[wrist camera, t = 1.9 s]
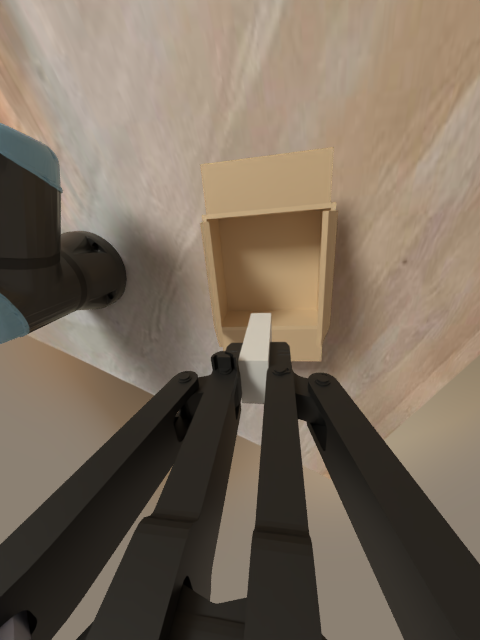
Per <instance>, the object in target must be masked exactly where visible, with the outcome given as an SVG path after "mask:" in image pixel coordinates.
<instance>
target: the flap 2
mask: <svg viewBox="0 0 480 640" xmlns="http://www.w3.org/2000/svg"><path fill="white" fill-rule="evenodd" d="M337 219H338V211H323V216H322V237H321V258H320V279H319V300H318V321H317V341H316V346H319V347H321V346H322V343H323V341H324V339H325V336H326V334H327V331H328V329H329V327H330V319H331V304H332V290H333V276H334V262H335V248H336V233H337Z"/></svg>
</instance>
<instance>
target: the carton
mask: <svg viewBox="0 0 480 640" xmlns="http://www.w3.org/2000/svg"><path fill="white" fill-rule="evenodd" d="M333 151H334V147H330V148H323V149H315V150H307V151H300V152H292V153H284V154H277V155H269V156H262V157H254V158H246V159H239V160H231V161H223V162H216V163H208V164H201V165H200V166H201V174H202V182H203V190H204V198H205V206H206V214H207V215H202V221H203V222H209V227H210V235H211V244H212V252H213V260H214V268H215V276H216V285H217V293H218V301H219V309H220V317H221V326H222V334H223V342H224V346H223V351H225V350H226V348H227V346H228V345H229V344H231V343H243V341H244V338H245V334H246V330H247V327H248V323H249V319H250V316H251V313H271V323H272V342H286V343H287V344H288V345H289V346H290V355H291V361H321V356H322V346H321V347H319V346H316V341H317V321H318V300H319V279H320V258H321V237H322V216H323V211H336V202H334V203H331V186H332V169H333Z"/></svg>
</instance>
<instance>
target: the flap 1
mask: <svg viewBox="0 0 480 640" xmlns="http://www.w3.org/2000/svg"><path fill="white" fill-rule="evenodd" d="M200 225H201V232H202V240H203V247H204V255H205V262H206V269H207V277H208V284H209V292H210V299H211V306H212V314H213V321H214V328H215V332H216V335H217V339H218V343H219V346H220V347H223V346H224V342H223V334H222V326H221V317H220V309H219V301H218V293H217V285H216V276H215V268H214V260H213V252H212V244H211V235H210V227H209V222H202V223H200Z"/></svg>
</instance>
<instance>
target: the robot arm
mask: <svg viewBox="0 0 480 640" xmlns="http://www.w3.org/2000/svg"><path fill="white" fill-rule="evenodd" d="M61 193H63V190H62V188H61V187H60V168H59V161H58V158H57V157H56V155H55V153H54V152H53V151H52V150H51V149H50V148H49V147H48V146H46V145H45V144H43V143H41V142H39V141H37V140H35V139H33V138H31V137H29V136H27V135H25V134H23V133H21V132H19V131H17V130H15V129H13V128H10V127H8V126H6V125H4V124H2V123H0V344H2V343H5V342H7V341H9V340H12V339H15V338H17V337H23V336H25V335H27V334H29V333H31V332H33V331H35V330H37V329H39V328H41V327H43V326H45V325H47V324H49V323H51V322H53V321H55V320H57V319H60V318H62V317H64V316H66V315H68V314H70V313H72V312H74V311H76V310H89V309H100V308H104V307H106V306H108V305H110V304H112V303H114V302H116V301H117V300H118V299H119V298H120V297H121V296H122V294H123V292H124V290H125V286H126V273H125V268H124V265H123V262H122V260H121V258H120V256H119V255H118V253H117V252H116V250H115V249H114V248H113V247H112V246H111V245H110V244H109V243H108V242H107V241H106V240H104V239H103V238H101V237H100V236H98V235H96V234H93V233H90V232H86V231H73V232H66V233H63V234H61ZM211 362H212V368H213V371H212V374H211V375H208V376H204V377H199V378H198V376H197V374H196V373H195V372H192V371H185V372H181V373H179V374H177V375H176V376H174V377H173V378H172V379H171V380H170V381H169V382H168V383H167V384H166V385H165V386H164V387H163V388H162V389H161V390H160V391H159V392H158V393H157V394H156V395H155V396H154V397H153V398H152V399H151V400H150V401H148V402H147V403H146V405H144V406H143V407H142V408H141V409H140V410H139V411H138V412H137V413H136V414H135V415H134V416H133V417H132V418H131V419H130V420H129V421H128V422H127V423H126V424H125V425H124V426H123V427H122V428H121V429H119V431H118V432H116V433H115V434H114V435H113V436H112V437H111V438H110V439H109V440H108V441H107V442H106V443H105V444H104V445H103V446H102V447H101V448H100V449H99V450H98V451H97V452H96V453H95V454H94V455H93V456H92V457H91V458H89V460H87V461H86V462H85V463H84V464H83V465H82V466H81V467H80V468H79V469H78V470H77V471H76V472H75V473H74V474H73V475H72V476H71V477H70V478H69V479H68V480H67V481H66V482H65V483H64V484H63V485H62V486H61V487H59V489H57V490H56V491H55V492H54V493H53V494H52V495H51V496H50V497H49V498H48V499H47V500H46V501H45V502H44V503H43V504H42V505H41V506H40V507H39V508H38V509H37V510H36V511H35V512H34V513H33V514H32V515H31V516H30V517H28V518H27V519H26V521H24V522H23V523H22V524H21V525H20V526H19V527H18V528H17V529H16V530H15V531H14V532H13V533H12V534H11V535H10V536H9V537H8V538H7V539H6V540H5V541H4V542H3V543H1V544H0V640H51V639H52V638H53V636H54V635H55V634H56V633H57V632H58V630H59V629H60V628H61V627H62V625H63V624H64V623H65V622H66V621H67V619H68V618H69V617H70V615H71V614H72V612H73V611H74V610H75V608H76V607H77V605H78V604H79V603H80V601H81V600H82V598H83V597H84V596H85V594H86V593H87V591H88V590H89V588H90V587H91V585H92V584H93V582H94V581H95V579H96V578H97V576H98V575H99V574H100V572H101V571H102V569H103V568H104V566H105V565H106V563H107V562H108V560H109V559H110V557H111V556H112V554H113V553H114V551H115V550H116V548H117V547H118V545H119V544H120V543H121V541H122V540H123V538H124V536H125V535H126V534H127V532H128V531H129V529H130V528H131V526H132V525H133V523H134V521H135V520H136V519H137V517H138V516H139V514H140V513H141V511H142V510H143V509H144V507H145V506H146V504H147V503H148V501H149V500H150V498H151V497H152V495H153V494H154V492H155V491H156V489H157V488H158V486H159V485H160V483H161V482H162V481H163V479H164V478H165V476H166V475H167V473H168V472H169V470H170V468H171V467H172V466H173V467H172V469H171V472H170V474H169V476H168V479H167V481H166V484H165V486H164V488H163V491H162V494H161V496H160V498H159V500H158V503H157V505H156V508H155V510H154V512H153V513H152V514H151V515H150V516H148V517H144V518H143V519H142V520H141V522H140V523H139V524H138V526H137V528H136V530H135V532H134V534H133V536H132V538H131V540H130V543H129V545H128V547H127V549H126V551H125V554H124V556H123V558H122V560H121V562H120V565H119V567H118V569H117V571H116V573H115V576H114V578H113V580H112V582H111V584H110V587H109V589H108V591H107V593H106V595H105V598H104V600H103V602H102V604H101V607H100V609H99V611H98V613H97V615H96V617H95V620H94V621H93V622H92V624H91V625H90V626H89V627H88V628H87V629H86V630H85V631H84V632H83V633H82V634H81V635H80V636H79V637H78V638H77V639H76V640H327V639H326V638H325V637H324V636H323V635H322V634H321V624H320V615H319V605H318V596H317V586H316V576H315V567H314V558H313V549H312V542H311V538H310V536H309V529H308V520H307V510H306V500H305V489H304V479H303V468H302V458H301V448H300V438H299V428H298V419H301V420H304V421H307V426H308V428H309V430H310V432H311V435H312V437H313V439H314V441H315V443H316V446H317V448H318V450H319V452H320V455H321V457H322V459H323V461H324V463H325V466H326V468H327V470H328V472H329V474H330V477H331V479H332V481H333V483H334V485H335V488H336V490H337V492H338V494H339V497H340V499H341V501H342V503H343V505H344V508H345V510H346V512H347V514H348V516H349V519H350V521H351V523H352V525H353V527H354V530H355V532H356V534H357V536H358V539H359V541H360V543H361V545H362V547H363V550H364V552H365V554H366V556H367V558H368V561H369V563H370V565H371V567H372V569H373V572H374V574H375V576H376V578H377V581H378V583H379V585H380V587H381V589H382V592H383V594H384V596H385V598H386V600H387V603H388V605H389V607H390V609H391V612H392V614H393V616H394V618H395V620H396V622H397V625H398V627H399V629H400V631H401V634H402V636H403V638H404V640H480V564H479V563H478V562H477V560H476V559H475V558H474V556H473V555H472V554H471V553H470V551H469V550H468V549H467V547H466V546H465V545H464V544H463V542H462V541H461V540H460V539H459V537H458V536H457V534H456V533H455V532H454V531H453V529H452V528H451V527H450V525H449V524H448V523H447V522H446V520H445V519H444V518H443V516H442V515H441V514H440V513H439V511H438V510H437V509H436V507H435V506H434V505H433V503H432V502H431V501H430V500H429V499H428V497H427V496H426V494H425V493H424V492H423V491H422V489H421V488H420V487H419V485H418V484H417V483H416V482H415V480H414V479H413V478H412V476H411V475H410V474H409V472H408V471H407V470H406V469H405V467H404V466H403V465H402V463H401V462H400V461H399V460H398V458H397V457H396V456H395V455H394V453H393V452H392V450H391V449H390V448H389V447H388V445H386V443H385V441H384V440H383V439H382V438H381V436H380V435H379V434H378V432H377V431H376V430H375V429H374V427H373V426H372V425H371V423H370V422H369V421H368V419H367V418H366V417H365V416H364V414H363V413H362V412H361V410H360V409H359V408H358V407H357V405H356V404H355V403H354V401H353V400H352V399H351V398H350V396H349V395H348V394H347V392H346V391H345V390H344V388H343V387H342V386H341V385H340V383H339V382H338V381H337V379H336V378H334V377H333V376H331V375H329V374H326V373H314V374H312V375H310V376H309V378H303V377H300V376H298V375H296V374H295V373H294V372H293V371H292V365H291V355H290V346H289V345H288V344H287V343H286V342H272V323H271V313H251V316H250V319H249V323H248V327H247V330H246V334H245V338H244V341H243V343H231V344H229V345H228V346H227V348H226V350H225V351H221V352H217V353H215V354H213V355H212V357H211ZM241 397H242V403H255V404H264V415H263V428H262V442H261V456H260V469H259V483H258V496H257V509H256V523H255V529H254V531H253V536H252V544H251V556H250V568H249V581H248V593H247V598H243V599H238V600H233V601H229V602H224V603H219V604H215V603H212V602H210V594H211V574H212V566H213V560H214V554H215V549H216V544H217V538H218V533H219V527H220V522H221V516H222V512H223V506H224V501H225V495H226V490H227V484H228V479H229V473H230V468H231V462H232V457H233V452H234V446H235V441H236V435H237V430H238V425H239V419H240V414H241V403H240V402H241ZM178 411H179V412H178ZM177 412H178V413H177Z"/></svg>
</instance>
